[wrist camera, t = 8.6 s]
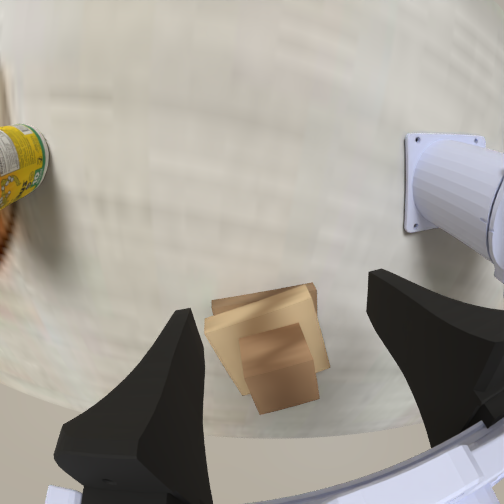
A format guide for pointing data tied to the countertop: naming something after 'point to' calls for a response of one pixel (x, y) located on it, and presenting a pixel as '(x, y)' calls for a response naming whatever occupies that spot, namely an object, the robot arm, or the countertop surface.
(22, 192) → the supplement bottle
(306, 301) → the tile top
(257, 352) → the block
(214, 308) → the tile bottom
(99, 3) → the countertop surface
